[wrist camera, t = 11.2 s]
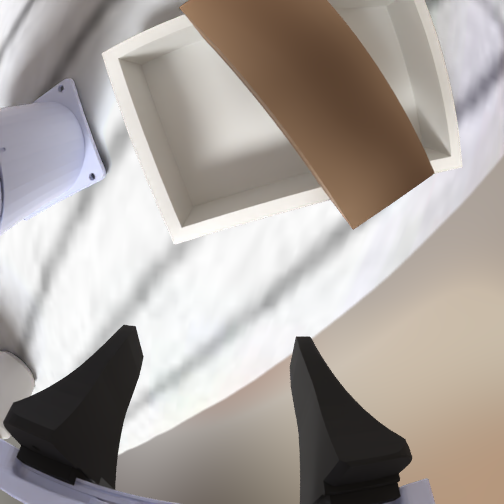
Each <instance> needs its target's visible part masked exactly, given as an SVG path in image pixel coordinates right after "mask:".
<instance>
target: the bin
mask: <svg viewBox="0 0 504 504" xmlns="http://www.w3.org/2000/svg"><path fill="white" fill-rule="evenodd" d="M327 1H328V2H329V3H330V4H331V5H332V6H333V8H334V9H335V10H336V11H337V12H338V14H339V15H340V16H341V17H342V18H343V20H344V21H345V22H346V23H347V25H348V26H349V27H350V29H351V30H352V31H353V32H354V34H355V35H356V36H357V38H358V39H359V40H360V42H361V43H362V45H363V46H364V47H365V49H366V50H367V52H368V53H369V54H370V56H371V57H372V59H373V60H374V62H375V63H376V65H377V66H378V68H379V69H380V71H381V72H382V74H383V75H384V77H385V79H386V80H387V82H388V83H389V85H390V87H391V88H392V90H393V92H394V93H395V95H396V97H397V98H398V100H399V102H400V104H401V105H402V107H403V109H404V111H405V113H406V114H407V116H408V118H409V120H410V122H411V124H412V126H413V128H414V130H415V132H416V134H417V136H418V138H419V140H420V142H421V144H422V146H423V148H424V150H425V152H426V154H427V157H428V159H429V161H430V163H431V166H432V168H433V170H434V172H435V173H439V172H444V171H448V170H452V169H457V168H461V167H462V158H461V148H460V139H459V131H458V124H457V118H456V111H455V106H454V100H453V95H452V90H451V86H450V81H449V77H448V73H447V69H446V65H445V61H444V57H443V53H442V50H441V47H440V43H439V40H438V37H437V34H436V31H435V28H434V25H433V22H432V19H431V16H430V13H429V11H428V8H427V6H426V3H425V0H327ZM102 57H103V60H104V63H105V66H106V69H107V73H108V76H109V79H110V82H111V85H112V88H113V91H114V94H115V97H116V100H117V103H118V105H119V108H120V111H121V114H122V117H123V120H124V122H125V125H126V128H127V131H128V133H129V136H130V139H131V141H132V144H133V147H134V149H135V152H136V154H137V157H138V160H139V162H140V165H141V167H142V170H143V172H144V175H145V177H146V180H147V182H148V185H149V187H150V189H151V192H152V194H153V197H154V199H155V201H156V204H157V206H158V209H159V211H160V213H161V216H162V218H163V220H164V222H165V225H166V227H167V229H168V232H169V234H170V236H171V238H172V241H173V243H174V245H175V244H178V243H181V242H185V241H188V240H191V239H194V238H198V237H201V236H204V235H208V234H211V233H214V232H218V231H221V230H225V229H228V228H231V227H235V226H238V225H242V224H245V223H249V222H252V221H256V220H259V219H263V218H266V217H270V216H273V215H277V214H280V213H284V212H287V211H291V210H295V209H298V208H302V207H306V206H309V205H313V204H317V203H320V202H324V201H328V200H330V198H329V197H328V196H327V194H326V193H325V192H324V190H323V189H322V187H321V186H320V184H319V183H318V182H317V180H316V179H315V177H314V176H313V174H312V173H311V171H310V170H309V169H308V167H307V166H306V164H305V163H304V161H303V160H302V159H301V157H300V156H299V155H298V153H297V152H296V150H295V149H294V148H293V146H292V145H291V144H290V142H289V141H288V139H287V138H286V137H285V135H284V134H283V133H282V131H281V130H280V129H279V128H278V126H277V125H276V124H275V122H274V121H273V120H272V118H271V117H270V116H269V115H268V113H267V112H266V111H265V109H264V108H263V107H262V106H261V104H260V103H259V102H258V101H257V99H256V98H255V97H254V96H253V95H252V93H251V92H250V91H249V90H248V88H247V87H246V86H245V85H244V84H243V82H242V81H241V80H240V79H239V78H238V77H237V75H236V74H235V73H234V72H233V71H232V70H231V68H230V67H229V66H228V65H227V64H226V63H225V62H224V60H223V59H222V58H221V57H220V56H219V55H218V54H217V53H216V51H215V50H214V49H213V48H212V47H211V46H210V45H209V44H208V43H207V42H206V41H205V39H204V38H203V37H202V36H201V35H200V33H199V32H198V31H197V29H196V28H195V27H194V26H193V24H192V23H191V22H190V21H189V19H188V18H187V17H186V16H185V14H184V15H181V16H179V17H176V18H173V19H171V20H169V21H166V22H164V23H161V24H159V25H157V26H154V27H152V28H150V29H148V30H146V31H143V32H141V33H139V34H137V35H135V36H133V37H131V38H129V39H127V40H125V41H123V42H121V43H119V44H117V45H116V46H114V47H112V48H110V49H108V50H107V51H105V52H103V53H102ZM435 173H434V174H435Z"/></svg>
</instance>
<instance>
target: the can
mask: <svg viewBox="0 0 504 504" xmlns="http://www.w3.org/2000/svg"><path fill="white" fill-rule="evenodd" d="M34 388H35V381H34V379H33V375H32V372H31V371H30V369H29V368H28V367H27V366H26V364H25V363H24V362H23V361H22V360H20V359H19V358H18V357H17V356H15V355H14V354H12V353H10V352H7V351H4V352H2V351H0V439H7V438H9V437H10V435H11V434H10V433H9V432H8V431H7V430H6V429H5V427H4V425H3V421H4V419H5V417H6V415H7V413H8V411H9V409H10V407H11V406H12V404H13V402H16V401H19V400H22V399H24V398H27V397H30V395H31V393H32V392H33V390H34Z"/></svg>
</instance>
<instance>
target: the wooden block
mask: <svg viewBox="0 0 504 504" xmlns="http://www.w3.org/2000/svg"><path fill="white" fill-rule="evenodd" d="M179 8H180V9H181V11H182V12H183V13H184V14H185V16H186V17H187V18H188V19H189V21H190V22H191V23H192V24H193V26H194V27H195V28H196V29H197V31H198V32H199V33H200V35H201V36H202V37H203V38H204V39H205V41H206V42H207V43H208V44H209V45H210V46H211V47H212V48H213V49H214V50H215V51H216V53H217V54H218V55H219V56H220V57H221V58H222V59H223V60H224V62H225V63H226V64H227V65H228V66H229V67H230V68H231V70H232V71H233V72H234V73H235V74H236V75H237V77H238V78H239V79H240V80H241V81H242V82H243V84H244V85H245V86H246V87H247V88H248V90H249V91H250V92H251V93H252V95H253V96H254V97H255V98H256V99H257V101H258V102H259V103H260V104H261V106H262V107H263V108H264V109H265V111H266V112H267V113H268V115H269V116H270V117H271V118H272V120H273V121H274V122H275V124H276V125H277V126H278V128H279V129H280V130H281V131H282V133H283V134H284V135H285V137H286V138H287V139H288V141H289V142H290V144H291V145H292V146H293V148H294V149H295V150H296V152H297V153H298V155H299V156H300V157H301V159H302V160H303V161H304V163H305V164H306V166H307V167H308V169H309V170H310V171H311V173H312V174H313V176H314V177H315V179H316V180H317V182H318V183H319V184H320V186H321V187H322V189H323V190H324V192H325V193H326V194H327V196H328V197H329V198H330V200H331V201H332V202H333V203H334V205H335V206H336V207H337V209H338V210H339V211H340V213H341V214H342V215H343V217H344V218H345V219H346V221H347V222H348V223H349V225H350V226H351V228H352V229H355V228H356V227H358V226H359V225H361V224H362V223H364V222H365V221H367V220H368V219H370V218H371V217H373V216H374V215H376V214H377V213H378V212H380V211H381V210H383V209H384V208H386V207H387V206H389V205H390V204H392V203H393V202H395V201H396V200H397V199H399V198H400V197H402V196H403V195H405V194H406V193H407V192H409V191H410V190H412V189H413V188H415V187H416V186H417V185H419V184H420V183H422V182H423V181H425V180H426V179H427V178H429V177H430V176H432V175H433V174H434V173H435V172H434V170H433V168H432V166H431V163H430V161H429V159H428V157H427V154H426V152H425V150H424V148H423V146H422V144H421V142H420V140H419V138H418V136H417V134H416V132H415V130H414V128H413V126H412V124H411V122H410V120H409V118H408V116H407V114H406V113H405V111H404V109H403V107H402V105H401V104H400V102H399V100H398V98H397V97H396V95H395V93H394V92H393V90H392V88H391V87H390V85H389V83H388V82H387V80H386V79H385V77H384V75H383V74H382V72H381V71H380V69H379V68H378V66H377V65H376V63H375V62H374V60H373V59H372V57H371V56H370V54H369V53H368V52H367V50H366V49H365V47H364V46H363V45H362V43H361V42H360V40H359V39H358V38H357V36H356V35H355V34H354V32H353V31H352V30H351V29H350V27H349V26H348V25H347V23H346V22H345V21H344V20H343V18H342V17H341V16H340V15H339V14H338V12H337V11H336V10H335V9H334V8H333V6H332V5H331V4H330V3H329V2H328V1H327V0H189V1H187V2H186V3H184V4H183V5H182V6H180V7H179Z"/></svg>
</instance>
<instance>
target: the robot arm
mask: <svg viewBox="0 0 504 504" xmlns="http://www.w3.org/2000/svg"><path fill="white" fill-rule="evenodd" d="M62 86H63V87H64V89H63V91H61V87H62ZM92 173H93V174H94V175H95V179H93V178H92ZM105 176H106V171H105V168H104V165H103V163H102V160H101V158H100V155H99V153H98V150H97V147H96V145H95V142H94V139H93V137H92V134H91V131H90V128H89V126H88V123H87V120H86V117H85V114H84V111H83V108H82V105H81V102H80V99H79V96H78V93H77V90H76V86H75V83H74V81H73V79H71V78H66V79H64V80H63V81H61V82H60V83H58V84H57V85H56V86H54V87H53V88H51V89H50V90H49V91H47V92H46V93H45V94H43V95H42V96H41V97H39V98H38V99H37V100H36V101H34V102H33V103H32V104H25V105H18V106H12V107H6V108H0V235H2V234H3V233H4V232H6V231H7V230H9V229H10V228H11V227H13V226H14V225H16V224H17V223H18V222H20V221H21V220H23V219H24V220H28V219H30V218H32V217H33V216H35V215H37V214H38V213H40V212H42V211H44V210H45V209H47V208H49V207H51V206H52V205H54V204H56V203H58V202H60V201H61V200H63V199H65V198H67V197H69V196H71V195H73V194H75V193H76V192H78V191H80V190H82V189H84V188H86V187H88V186H90V185H92V184H94V183H96V182H98V181H100V180H102V179H104V178H105ZM142 361H143V353H142V350H141V346H140V342H139V338H138V334H137V330H136V326H128V325H123V326H122V327H121V328H120V329H119V330H118V331H117V332H116V333H115V334H114V335H113V336H112V337H111V338H110V339H109V340H108V341H107V342H106V343H105V344H104V345H103V346H102V347H101V348H100V349H99V350H97V351H96V352H95V353H94V354H93V355H92V356H91V357H90V358H89V359H88V360H86V361H85V362H84V363H83V364H82V365H81V366H80V367H78V368H77V369H76V370H74V371H73V372H72V373H70V374H69V375H68V376H66V377H65V378H63V379H62V380H60V381H58V382H57V383H55V384H53V385H52V386H50V387H48V388H46V389H44V390H43V391H41V392H38V393H36V394H34V395H32V396H30V397H27V398H24V399H22V400H19V401H16V402H13V404H12V406H11V407H10V409H9V411H8V413H7V415H6V417H5V419H4V421H3V425H4V427H5V429H6V430H7V431H8V432H9V433H10V434H11V435H12V436H13V437H14V438H15V439H16V440H17V441H18V442H19V443H20V444H21V447H20V450H19V449H18V448H16V447H15V446H13V445H11V444H9V443H7V442H6V441H4V440H2V439H0V489H1V490H3V491H4V492H6V493H7V494H9V495H10V496H12V497H14V498H15V499H17V500H19V501H21V502H22V503H24V504H179V503H172V502H167V501H161V500H156V499H150V498H146V497H141V496H137V495H132V494H128V493H124V492H121V491H117V490H115V480H116V466H117V457H118V449H119V443H120V437H121V432H122V427H123V422H124V418H125V415H126V412H127V409H128V406H129V403H130V400H131V398H132V395H133V392H134V389H135V386H136V384H137V381H138V378H139V375H140V370H141V366H142ZM290 380H291V390H292V396H293V402H294V408H295V413H296V418H297V425H298V432H299V447H300V504H435V501H434V497H433V494H432V490H431V487H430V483H429V480H428V479H427V478H426V479H423V480H420V481H416V482H413V483H410V484H406V485H403V486H401V487H398V483H397V482H399V481H400V477H399V473H400V472H401V471H402V470H403V469H404V468H405V467H406V466H408V464H409V463H410V462H411V460H412V455H411V452H410V449H409V446H408V444H407V443H406V440H405V439H404V438H402V437H401V436H399V435H398V434H396V433H394V432H393V431H391V430H389V429H388V428H387V427H385V426H384V425H382V424H381V423H380V422H378V421H377V420H376V419H375V418H373V417H372V416H371V415H370V414H369V413H368V412H366V411H365V410H364V409H363V408H362V407H361V406H360V405H359V404H358V403H357V402H356V401H355V400H354V399H353V398H352V397H351V395H350V394H349V393H348V392H347V391H346V390H345V389H344V387H343V386H342V385H341V384H340V382H339V381H338V380H337V379H336V377H335V376H334V374H333V373H332V371H331V370H330V369H329V367H328V366H327V364H326V363H325V361H324V359H323V358H322V356H321V355H320V353H319V351H318V350H317V348H316V346H315V344H314V342H313V341H312V339H311V338H310V337H296V339H295V344H294V349H293V354H292V359H291V364H290Z"/></svg>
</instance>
